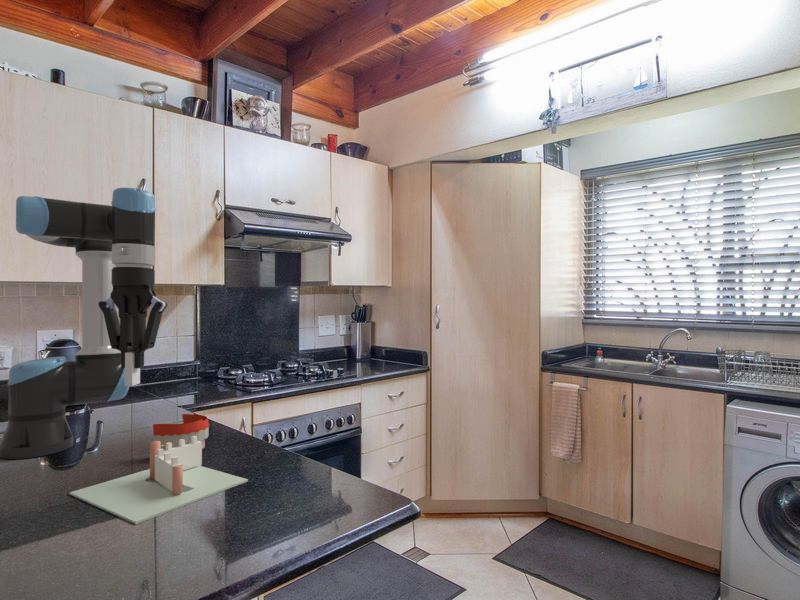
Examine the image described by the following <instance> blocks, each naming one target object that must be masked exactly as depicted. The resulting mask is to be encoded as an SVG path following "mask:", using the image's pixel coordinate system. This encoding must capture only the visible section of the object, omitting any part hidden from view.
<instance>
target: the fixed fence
mask: <svg viewBox="0 0 800 600" xmlns="http://www.w3.org/2000/svg"><path fill="white" fill-rule="evenodd" d="M172 446H173V445H172V443H170V442H168V443H166V450H164V453H168V452H170V453H171V457H175V456H177V457H178V464H179V465H183V470H187V469H190V468H193V467H196V466H202V465H203V450H202V442H201V441H197V436H192V437H191V443H189V444H185V440H184V439H180V440H179V444H178V446H177V447H174V448H172ZM158 449H161V441H154V440H153V441H150V442H149V469H150V480H155V455H157V450H158Z"/></svg>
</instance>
